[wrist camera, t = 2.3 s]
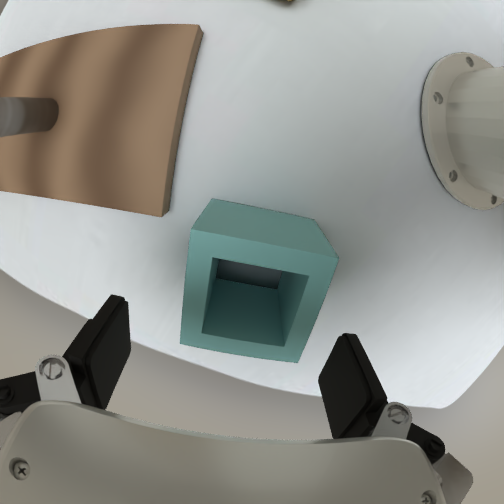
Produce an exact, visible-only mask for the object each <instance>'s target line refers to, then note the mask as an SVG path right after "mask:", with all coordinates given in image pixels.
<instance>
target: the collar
mask: <svg viewBox="0 0 504 504" xmlns="http://www.w3.org/2000/svg"><path fill="white" fill-rule="evenodd" d="M219 259H224V260H229V261H234V262H240V263H245V264H250V265H255V266H261V267H266V268H271V269H276V270H282V275H281V278H280V282H279V285H278V288H277V289H271V288H266V287H260V286H255V285H249V284H244V283H238V282H233V281H228V280H223V279H218V278H216V273H217V267H218V261H219ZM338 260H339V257H338V256H337V254H336V253H335V251H334V249H333V248H332V246H331V245H330V243H329V242H328V240H327V239H326V237H325V236H324V234H323V233H322V231H321V230H320V228H319V227H318V225H317V224H316V222H315V221H314V220H313V219H309V218H305V217H300V216H296V215H291V214H287V213H282V212H277V211H273V210H268V209H263V208H258V207H253V206H248V205H243V204H238V203H233V202H228V201H222V200H217V199H211V201H210V202H209V203H208V205H207V206H206V208H205V209H204V211H203V212H202V214H201V215H200V216H199V218H198V219H197V221H196V222H195V224H194V225H193V227H192V228H191V232H190V240H189V248H188V257H187V266H186V275H185V285H184V296H183V307H182V320H181V334H180V344H183V345H188V346H193V347H197V348H202V349H207V350H213V351H218V352H223V353H229V354H235V355H241V356H248V357H254V358H261V359H269V360H276V361H285V362H294V363H298V361H299V359H300V357H301V354H302V352H303V350H304V348H305V345H306V343H307V341H308V338H309V336H310V333H311V331H312V329H313V326H314V324H315V321H316V319H317V316H318V314H319V311H320V309H321V306H322V304H323V301H324V299H325V296H326V293H327V291H328V288H329V285H330V283H331V280H332V277H333V275H334V272H335V269H336V266H337V263H338Z"/></svg>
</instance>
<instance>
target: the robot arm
mask: <svg viewBox="0 0 504 504" xmlns="http://www.w3.org/2000/svg"><path fill="white" fill-rule="evenodd" d="M421 115H422V126H423V134H424V138H425V143H426V148H427V151H428V154H429V157H430V160H431V163H432V165H433V167H434V169H435V172H436V174H437V176H438V178H439V179H440V181H441V182H442V184H443V185H444V187H445V188H446V190H447V191H448V192H449V193H450V194H451V195H452V196H453V197H454V198H455V199H457V200H458V201H460V202H461V203H463V204H465V205H467V206H469V207H472V208H474V209H479V210H488V209H492V208H494V207H497V206H499V205H500V204H501V203H503V202H504V67H495V68H494V67H493V66H492V65H491V64H490V63H488V62H487V61H485V60H484V59H483V58H481V57H479V56H476V55H474V54H471V53H465V52H461V53H454V54H451V55H448V56H445V57H443V58H442V59H440V60H439V61H438V62H436V63H435V65H434V66H433V68H432V69H431V70H430V72H429V74H428V77H427V79H426V82H425V85H424V90H423V95H422V112H421ZM130 351H131V342H130V328H129V309H128V302H127V301H125V299H124V297H121V296H117V295H113V294H112V295H111V296H110V297H109V298H108V299H107V301H106V302H105V303H104V305H103V306H102V307H101V309H100V310H99V311H98V313H97V314H96V315H95V317H94V318H93V319H89V320H88V321H87V323H86V324H85V325H84V326H83V328H82V329H81V330H80V332H79V333H78V335H77V336H76V337H75V339H74V340H73V342H72V343H71V345H70V346H69V348H68V349H67V350H66V352H65V353H64V355H63V356H62V357H61V356H57V355H47V356H44V357H43V358H41V359H40V360H39V361H38V362H37V364H36V367H35V371H34V372H30V373H26V374H22V375H18V376H13V377H9V378H5V379H1V380H0V504H461V502H462V501H463V499H464V498H465V496H466V494H467V493H468V491H469V489H470V488H471V486H472V483H473V476H472V474H471V472H470V471H469V470H468V469H466V468H465V467H464V466H463V465H462V464H461V463H460V462H459V461H458V460H456V459H455V458H454V457H453V456H452V455H451V454H450V453H447V454H445V445H444V443H443V441H442V440H441V439H440V438H439V437H437V436H435V435H433V434H431V433H429V432H428V431H426V430H424V429H422V428H420V427H419V426H417V425H415V424H413V423H411V422H412V414H411V412H410V410H409V409H408V408H407V407H406V406H405V405H403V404H401V403H398V402H390V403H388V402H387V396H386V394H385V392H384V390H383V388H382V385H381V383H380V381H379V379H378V377H377V375H376V373H375V371H374V369H373V367H372V365H371V363H370V361H369V359H368V356H367V354H366V352H365V350H364V348H363V346H362V344H361V343H360V341H359V339H358V337H357V335H356V334H349V333H344V334H342V336H339V337H338V339H337V341H336V343H335V345H334V347H333V349H332V351H331V353H330V356H329V358H328V360H327V362H326V364H325V366H324V367H323V369H322V371H321V373H320V375H319V379H318V383H319V387H320V390H321V394H322V398H323V402H324V405H325V409H326V413H327V417H328V421H329V424H330V429H331V433H332V437H333V439H324V440H271V439H253V438H240V437H230V436H221V435H214V434H206V433H200V432H194V431H187V430H182V429H177V428H172V427H167V426H163V425H158V424H154V423H150V422H146V421H142V420H138V419H134V418H130V417H126V416H122V415H119V414H116V413H112V412H109V411H106V410H105V409H106V407H107V405H108V403H109V400H110V398H111V395H112V393H113V391H114V389H115V386H116V384H117V382H118V379H119V377H120V375H121V373H122V370H123V368H124V366H125V364H126V361H127V359H128V357H129V355H130ZM102 409H103V410H102Z"/></svg>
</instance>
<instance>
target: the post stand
mask: <svg viewBox="0 0 504 504" xmlns="http://www.w3.org/2000/svg"><path fill="white" fill-rule="evenodd" d="M202 36H203V32H202V30H201V28H200V26H199V25H193V24H154V25H137V26H125V27H116V28H108V29H101V30H95V31H89V32H84V33H79V34H74V35H70V36H65V37H61V38H57V39H53V40H50V41H46V42H43V43H39V44H36V45H33V46H30V47H27V48H24V49H21V50H18V51H16V52H13V53H10V54H8V55H5V56H3V57H1V58H0V191H5V192H12V193H19V194H25V195H32V196H38V197H45V198H51V199H58V200H64V201H70V202H76V203H82V204H88V205H94V206H100V207H106V208H112V209H118V210H123V211H129V212H135V213H141V214H146V215H152V216H157V217H162V216H164V215H165V214H166V213H167V212H168V211H169V204H170V196H171V188H172V181H173V174H174V167H175V160H176V154H177V148H178V142H179V136H180V131H181V125H182V120H183V115H184V110H185V105H186V100H187V96H188V91H189V87H190V82H191V78H192V74H193V70H194V66H195V62H196V58H197V54H198V50H199V47H200V43H201V40H202Z"/></svg>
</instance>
